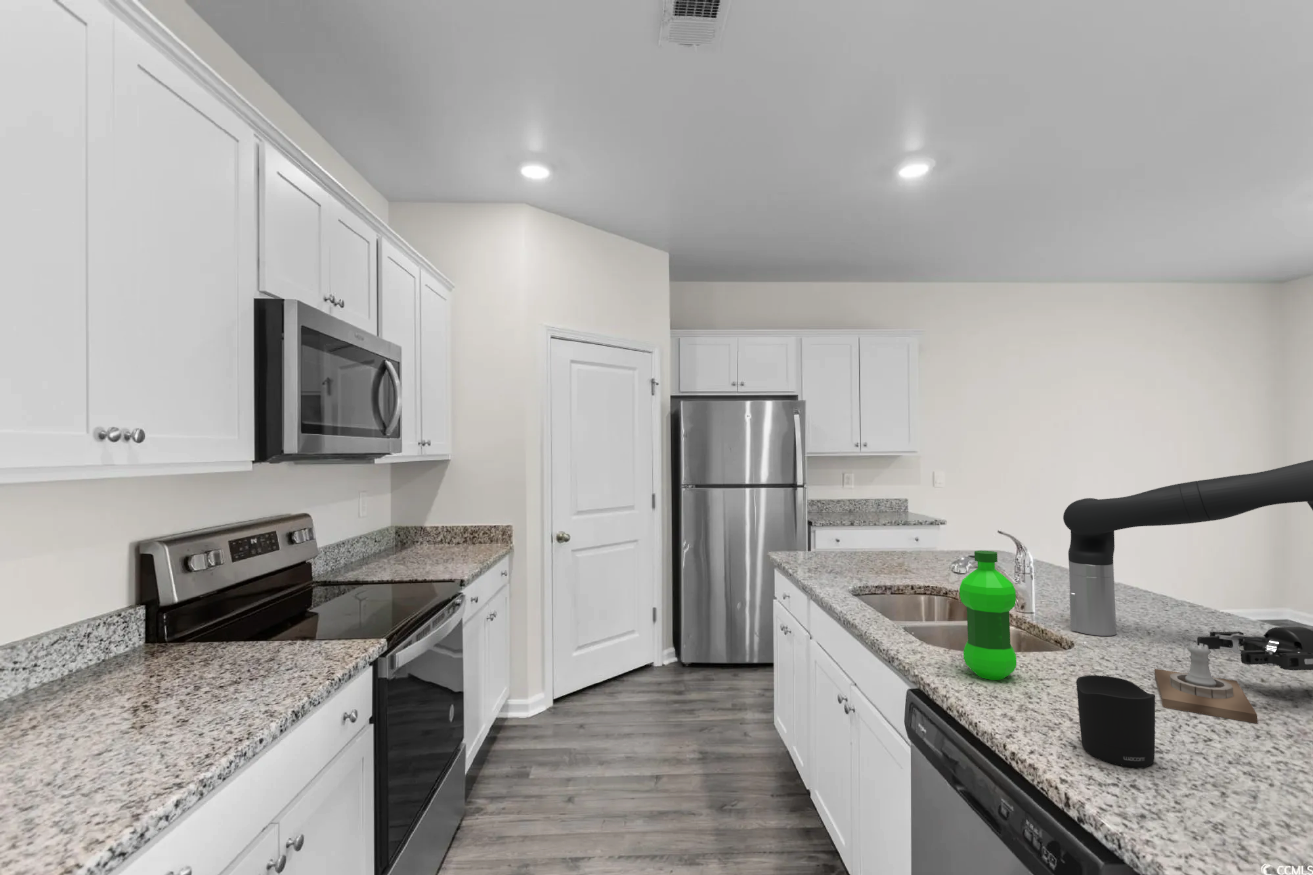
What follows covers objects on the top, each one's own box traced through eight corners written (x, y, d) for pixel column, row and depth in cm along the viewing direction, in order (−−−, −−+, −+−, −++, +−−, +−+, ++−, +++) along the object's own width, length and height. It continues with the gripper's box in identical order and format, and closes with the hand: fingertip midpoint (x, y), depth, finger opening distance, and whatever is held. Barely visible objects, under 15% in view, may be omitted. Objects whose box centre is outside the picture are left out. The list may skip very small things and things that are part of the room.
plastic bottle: (955, 665, 129) (951, 548, 130) (1009, 668, 127) (1005, 548, 128) (969, 682, 119) (965, 555, 120) (1028, 686, 117) (1023, 556, 118)
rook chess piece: (1211, 686, 112) (1209, 642, 112) (1222, 695, 108) (1219, 649, 108) (1180, 683, 114) (1178, 639, 114) (1189, 691, 110) (1187, 646, 110)
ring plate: (1162, 707, 107) (1162, 689, 107) (1154, 676, 121) (1154, 661, 121) (1257, 723, 100) (1256, 705, 100) (1236, 688, 114) (1236, 672, 114)
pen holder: (1072, 754, 91) (1069, 687, 91) (1086, 733, 97) (1083, 670, 98) (1153, 777, 84) (1150, 704, 84) (1161, 753, 90) (1158, 685, 91)
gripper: (1266, 617, 118) (1184, 619, 118) (1351, 638, 104) (1258, 641, 104) (1268, 656, 118) (1186, 658, 118) (1353, 683, 104) (1260, 685, 104)
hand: (1220, 650), depth 111 cm, fingers open, 8 cm apart
